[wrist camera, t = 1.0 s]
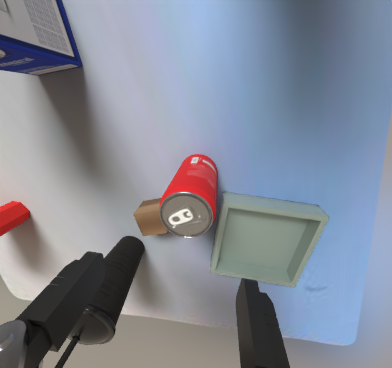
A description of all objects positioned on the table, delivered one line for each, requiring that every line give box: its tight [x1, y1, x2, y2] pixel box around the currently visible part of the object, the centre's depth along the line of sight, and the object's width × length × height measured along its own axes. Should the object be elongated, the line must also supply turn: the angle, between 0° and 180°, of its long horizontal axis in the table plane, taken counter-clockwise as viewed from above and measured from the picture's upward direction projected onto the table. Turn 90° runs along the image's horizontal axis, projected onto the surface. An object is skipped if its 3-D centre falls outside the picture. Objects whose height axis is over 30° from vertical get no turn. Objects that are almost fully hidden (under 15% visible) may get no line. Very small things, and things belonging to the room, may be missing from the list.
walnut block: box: [133, 198, 168, 236], centre depth 29 cm, size 4×4×4 cm
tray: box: [210, 192, 330, 287], centre depth 29 cm, size 14×14×3 cm
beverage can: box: [159, 154, 217, 238], centre depth 21 cm, size 5×5×12 cm
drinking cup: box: [55, 236, 144, 368], centre depth 25 cm, size 8×8×20 cm
